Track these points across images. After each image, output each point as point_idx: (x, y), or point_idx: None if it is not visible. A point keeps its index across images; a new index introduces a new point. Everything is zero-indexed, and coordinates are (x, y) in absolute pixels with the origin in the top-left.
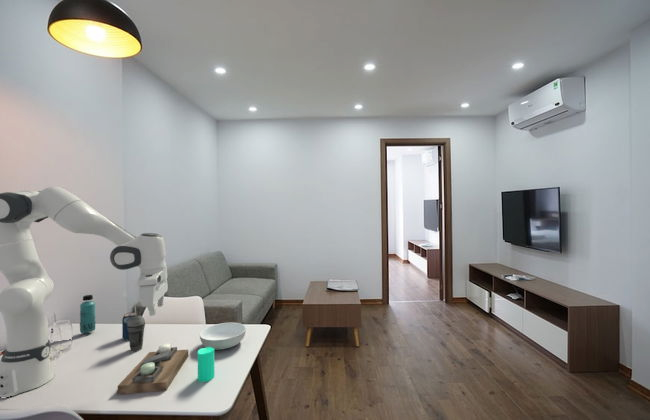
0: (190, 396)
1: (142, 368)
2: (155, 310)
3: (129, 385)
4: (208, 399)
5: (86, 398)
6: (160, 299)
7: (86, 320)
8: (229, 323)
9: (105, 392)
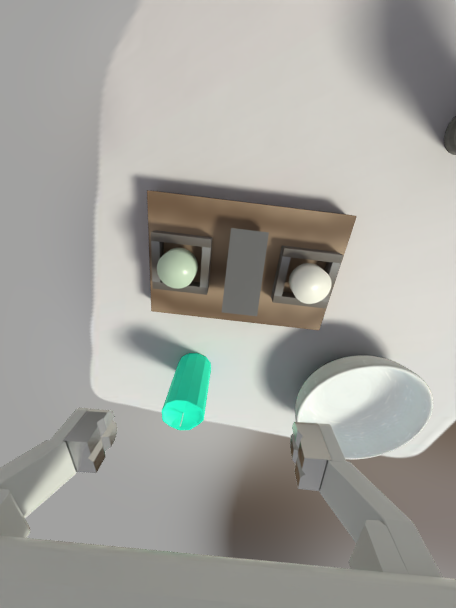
0: (131, 348)
1: (159, 260)
2: (88, 464)
3: (148, 224)
4: (120, 375)
5: (147, 96)
6: (343, 502)
7: None
8: (417, 427)
9: (171, 147)
